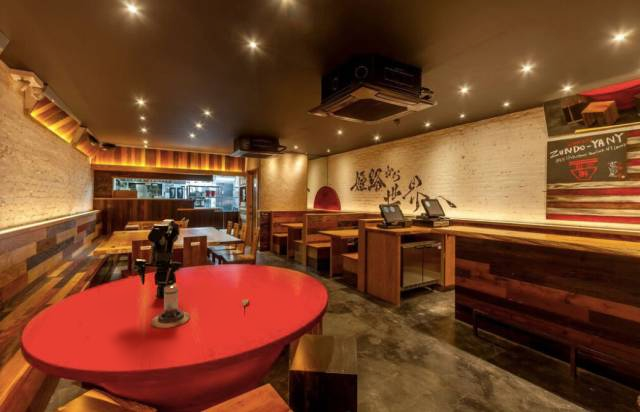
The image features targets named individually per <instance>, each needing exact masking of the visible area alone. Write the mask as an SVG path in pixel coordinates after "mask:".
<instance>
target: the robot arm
mask: <svg viewBox="0 0 640 412" xmlns="http://www.w3.org/2000/svg"><path fill="white" fill-rule="evenodd" d="M180 232H181V229H180V225H179V224H178V223H176V222H175V220H174V219H164V220H162V222H161V223H160V224H154V225H153V226H152V227H151V228H150V231H149V233H148V235H147V240H148V241H149V243H150V244H151V245H152V249H151V254H150V262H148V261H146V259H140V258H139V259H138V258H136V259H134V261H132V264H131V270H134V271H135V272H137V274H138V275H139V278H140V283H141V285H143V286H145V282H146V281H145V280H146V279H145V278H146V268H156V270H155V271H156V272H155V273H154V276H153V277H154V278H153V279H154V285H155V286H157V287H156V294H155V296H156V297H159V298H161V299H164V287H165V286H168V285H175V284H176V283H177V276H176V272H178V271H179V270H180V269H182V262H179V261H173V259H174V256H175V255H174V246H175V242H176V241H178V240H179V236H180V234H181V233H180Z"/></svg>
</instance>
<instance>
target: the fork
mask: <svg viewBox="0 0 640 412" xmlns="http://www.w3.org/2000/svg"><path fill="white" fill-rule="evenodd" d="M241 303H242V304H243V306H244V305H247V304H249V299H242V301H241Z"/></svg>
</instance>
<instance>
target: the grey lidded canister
mask: <svg viewBox="0 0 640 412" xmlns="http://www.w3.org/2000/svg"><path fill="white" fill-rule="evenodd" d="M178 310H179V285H177V284H173V285H168V286H165V287H164V298H163V312H164V318H172V317H176V316H178Z"/></svg>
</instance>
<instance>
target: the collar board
mask: <svg viewBox="0 0 640 412" xmlns="http://www.w3.org/2000/svg"><path fill="white" fill-rule="evenodd" d="M190 319H191V314H190V313H188V312H187V311H186V312H185V311H183V310H181V309H178V316H176V317H172V318H164V311H163V312H161V313H159V314H158V315H157V316H155V317H153V318H152V319H151V324H150V325H151V326H152V327H153V328H157V329H169V328H170V327H171V328H174V327H178V326H181V325H184V324H186V323H187V322H189V321H190ZM185 322H186V323H185Z"/></svg>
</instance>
